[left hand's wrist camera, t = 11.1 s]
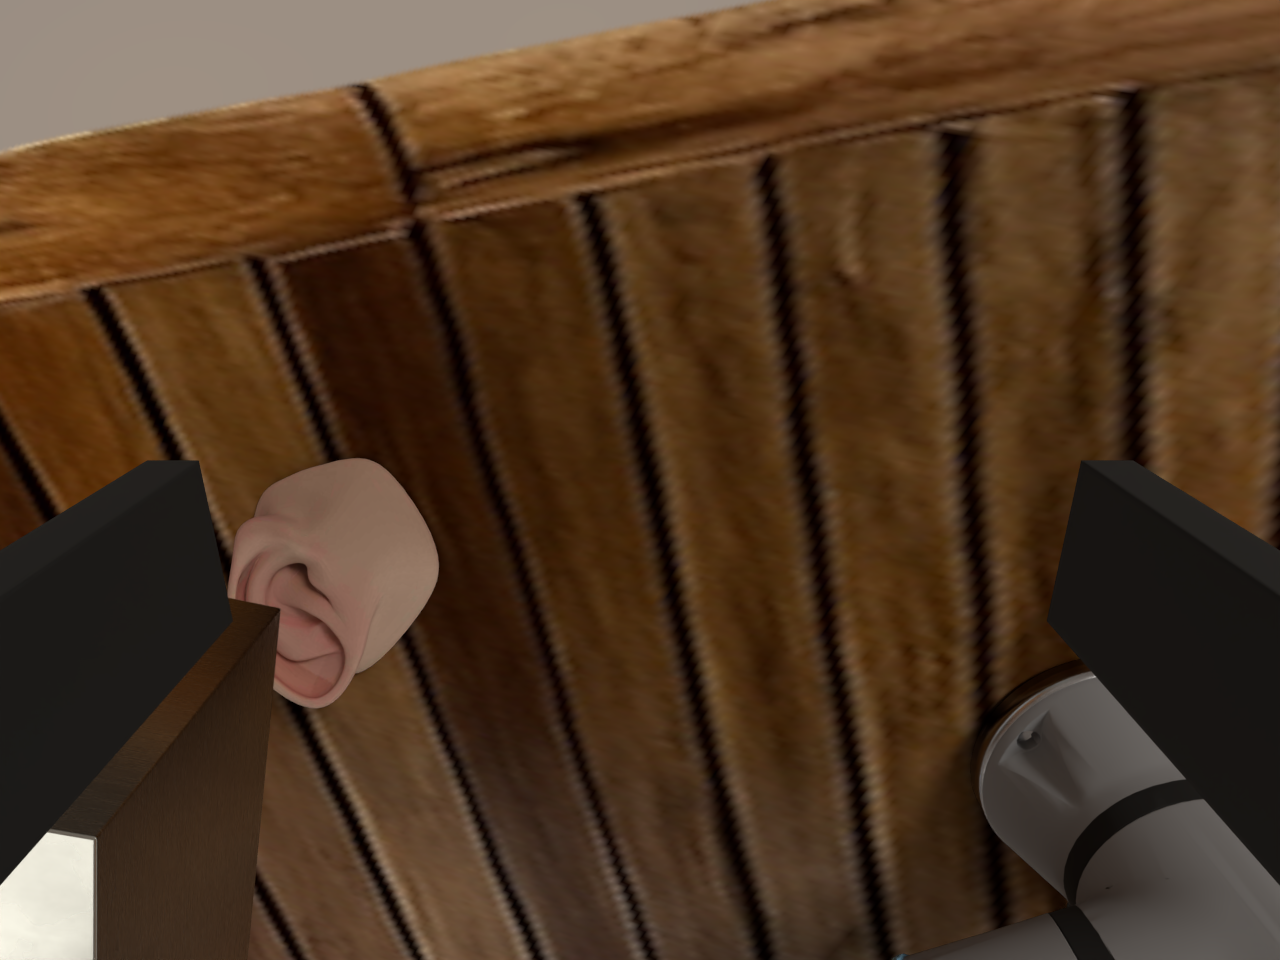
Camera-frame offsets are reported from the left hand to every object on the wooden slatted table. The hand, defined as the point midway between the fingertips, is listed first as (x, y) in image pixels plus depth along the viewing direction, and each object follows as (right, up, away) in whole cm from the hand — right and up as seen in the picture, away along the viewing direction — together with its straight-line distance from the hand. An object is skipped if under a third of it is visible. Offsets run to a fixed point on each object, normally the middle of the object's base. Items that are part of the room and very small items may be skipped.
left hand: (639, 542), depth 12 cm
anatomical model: (-17, -4, +34) cm, 39 cm away
